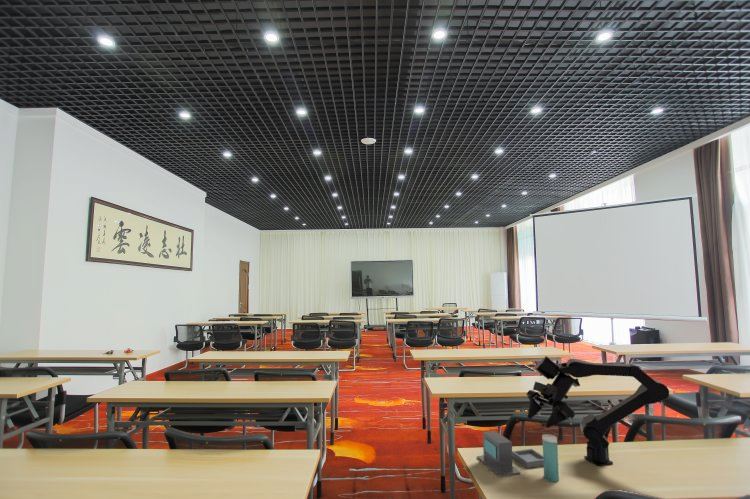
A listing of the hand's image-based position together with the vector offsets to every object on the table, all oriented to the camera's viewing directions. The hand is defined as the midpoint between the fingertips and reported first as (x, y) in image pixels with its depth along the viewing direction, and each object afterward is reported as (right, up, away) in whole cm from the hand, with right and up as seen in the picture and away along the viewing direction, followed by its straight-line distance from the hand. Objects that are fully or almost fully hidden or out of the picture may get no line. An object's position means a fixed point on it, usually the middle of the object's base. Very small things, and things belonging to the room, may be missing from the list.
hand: (537, 422), depth 133 cm
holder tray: (-3, -13, -1) cm, 14 cm away
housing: (-16, -13, -5) cm, 21 cm away
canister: (-1, -12, -13) cm, 18 cm away
